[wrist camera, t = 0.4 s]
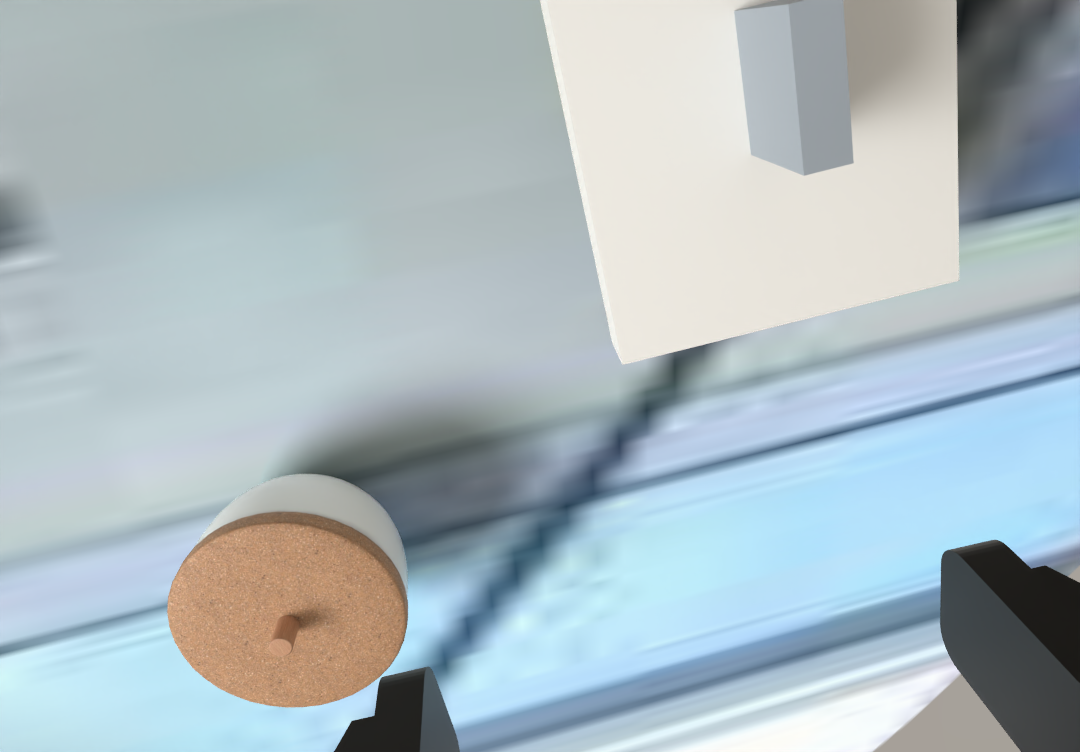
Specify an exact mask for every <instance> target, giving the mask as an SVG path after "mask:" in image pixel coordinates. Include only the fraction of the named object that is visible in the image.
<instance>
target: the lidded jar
mask: <svg viewBox="0 0 1080 752" xmlns="http://www.w3.org/2000/svg"><path fill="white" fill-rule="evenodd" d="M407 594H408V571H407V562H406V557H405V551H404V547H403V544H402V540H401V538H400V535H399V532H398V530H397V528H396V526H395V525H394V523H393V521H392V520H391V518H390V516H389V515H388V513H387V512H386V510H385V509H384V508H383V507H382V506H381V505H380V504H379V502H378V501H376V500H375V499H374V498H373V497H372V496H370V495H369V494H368V493H367V492H365V491H363V490H362V489H360V488H359V487H357V486H355V485H353V484H351V483H349V482H347V481H344V480H342V479H339V478H335V477H332V476H327V475H320V474H294V475H285V476H281V477H278V478H274V479H271V480H268V481H266V482H263V483H261V484H259V485H257V486H255V487H252V488H251V489H249V490H247V491H246V492H244V493H243V494H241V495H239V496H238V497H237V498H236V499H235V500H234V501H232V502H231V503H230V504H229V505H228V506H227V507H226V508H225V509H223V510H222V511H221V512H220V513H219V514H218V515H217V517H216V518H215V519H214V520H213V521H212V523H211V524H210V525H209V526H208V528H207V529H206V530H205V531H204V533H203V534H202V536H201V537H200V539H199V540H198V542H197V543H196V545H195V547H194V548H193V550H192V551H191V552H190V553H189V555H188V556H187V557H186V558H185V560H184V561H183V563H182V565H181V567H180V569H179V571H178V573H177V574H176V576H175V578H174V580H173V582H172V586H171V589H170V593H169V596H168V610H167V613H168V619H169V626H170V629H171V632H172V635H173V638H174V641H175V643H176V644H177V646H178V648H179V649H180V651H181V653H182V655H183V656H184V657H185V659H186V660H187V661H188V662H189V664H190V665H191V666H192V667H193V668H194V669H195V670H196V671H197V672H198V673H199V674H200V675H202V676H203V677H204V678H205V679H206V680H208V681H209V682H211V683H212V684H214V685H215V686H217V687H218V688H220V689H222V690H224V691H226V692H228V693H230V694H232V695H234V696H237V697H240V698H242V699H245V700H248V701H251V702H255V703H260V704H265V705H270V706H279V707H307V706H316V705H322V704H326V703H330V702H333V701H337V700H340V699H342V698H345V697H348V696H350V695H353V694H354V693H356V692H358V691H360V690H361V689H363V688H365V687H367V686H368V685H369V684H371V683H372V682H373V681H375V680H376V679H377V678H379V677H380V676H381V675H382V674H383V673H384V672H385V671H386V670H387V668H388V667H389V666H390V665H391V664H392V662H393V661H394V659H395V658H396V656H397V655H398V653H399V651H400V648H401V646H402V644H403V641H404V637H405V633H406V628H407V620H408V600H407Z"/></svg>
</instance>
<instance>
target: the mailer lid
mask: <svg viewBox="0 0 1080 752" xmlns="http://www.w3.org/2000/svg"><path fill="white" fill-rule="evenodd" d="M540 2H541V7H542V12H543V17H544V21H545V26H546V31H547V36H548V40H549V45H550V50H551V55H552V59H553V64H554V69H555V74H556V78H557V83H558V88H559V92H560V97H561V102H562V107H563V111H564V116H565V121H566V126H567V130H568V135H569V140H570V145H571V149H572V154H573V159H574V164H575V168H576V173H577V178H578V183H579V187H580V192H581V197H582V201H583V206H584V211H585V216H586V220H587V225H588V230H589V235H590V239H591V244H592V249H593V254H594V258H595V263H596V268H597V273H598V277H599V282H600V287H601V291H602V296H603V301H604V306H605V310H606V315H607V320H608V325H609V329H610V334H611V339H612V343H613V345H614V348H615V350H616V352H617V354H618V356H619V358H620V360H621V362H622V364H623V365H624V364H628V363H632V362H636V361H640V360H644V359H648V358H652V357H656V356H660V355H664V354H668V353H672V352H676V351H680V350H684V349H688V348H692V347H696V346H700V345H704V344H708V343H712V342H716V341H720V340H724V339H728V338H732V337H736V336H740V335H744V334H748V333H752V332H756V331H760V330H764V329H768V328H772V327H776V326H780V325H784V324H788V323H792V322H796V321H800V320H804V319H808V318H812V317H816V316H820V315H824V314H828V313H832V312H836V311H840V310H844V309H848V308H852V307H856V306H860V305H864V304H868V303H872V302H876V301H880V300H884V299H888V298H892V297H896V296H900V295H904V294H908V293H912V292H916V291H920V290H923V289H927V288H931V287H935V286H939V285H943V284H947V283H951V282H955V281H959V212H958V107H957V1H956V0H540Z"/></svg>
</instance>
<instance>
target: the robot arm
mask: <svg viewBox="0 0 1080 752" xmlns="http://www.w3.org/2000/svg"><path fill="white" fill-rule="evenodd" d="M940 627H941V633H942V638H943V641H944V644H945V647H946V649H947V651H948V654H949V656H950V658H951V660H952V661H953V663H954V665H955V666H956V667H957V669H958V670H959V672H960V673H961V674H962V675H963V677H964V678H965V679H966V681H967V682H968V683H969V684H970V686H971V687H972V688H973V690H974V691H975V692H976V694H977V695H978V696H979V697H980V699H981V700H982V701H983V703H984V704H985V705H986V707H987V708H988V709H989V710H990V712H991V713H992V714H993V716H994V717H995V718H996V720H997V721H998V722H999V723H1000V725H1001V726H1002V727H1003V729H1004V730H1005V731H1006V733H1007V734H1008V735H1009V736H1010V738H1011V739H1012V740H1013V742H1014V743H1015V744H1016V746H1017V747H1018V748H1019V749H1020V751H1021V752H1080V583H1079V582H1077V581H1075V580H1073V579H1071V578H1069V577H1067V576H1065V575H1063V574H1061V573H1059V572H1057V571H1055V570H1053V569H1051V568H1049V567H1047V566H1041V567H1037V568H1032V569H1031V568H1030V567H1029V566H1028V565H1027V564H1026V563H1025V562H1023V561H1022V560H1021V559H1020V558H1019V557H1018V556H1017V555H1016V554H1015V553H1014V552H1013V551H1012V550H1011V549H1010V548H1009V547H1008V546H1006V545H1005V544H1004V543H1002V542H1001V541H998V540H991V541H987V542H982V543H978V544H973V545H969V546H965V547H960V548H956V549H951V550H947V551H945V552H944V554H943V555H942V560H941V608H940ZM334 752H460V750H459V745H458V740H457V737H456V733H455V730H454V728H453V725H452V722H451V719H450V717H449V714H448V711H447V708H446V706H445V703H444V700H443V697H442V695H441V692H440V689H439V686H438V684H437V681H436V678H435V675H434V673H433V671H432V669H431V668H430V667H424V668H420V669H416V670H411V671H407V672H402V673H398V674H394V675H389V676H385V677H382V678H381V680H380V682H379V687H378V694H377V701H376V709H375V716H372V717H368V718H363V719H359V720H354V721H352V722H351V724H350V725H349V727H348V729H347V730H346V732H345V734H344V736H343V737H342V739H341V741H340V743H339V744H338V746H337V748H336V750H335V751H334Z"/></svg>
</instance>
